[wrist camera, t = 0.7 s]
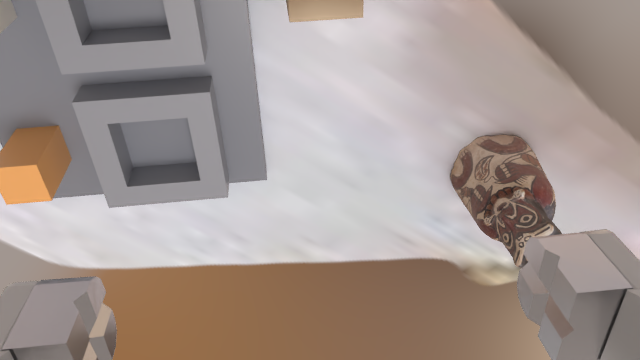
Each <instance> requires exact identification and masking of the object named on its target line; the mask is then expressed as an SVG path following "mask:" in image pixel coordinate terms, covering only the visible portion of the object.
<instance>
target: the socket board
mask: <svg viewBox="0 0 640 360" xmlns="http://www.w3.org/2000/svg"><path fill="white" fill-rule="evenodd" d="M0 142H1V145H2V147H3V149H2V150H1V152H0V192H1V194H2V196H3V198H4V200H5V202H6V204H18V203H30V202H41V201H52V199H53V198H61V197H73V196H85V195H96V194H104V195H105V198H106V201H107V203H108V206H109V208H111V207H123V206H134V205H145V204H157V203H168V202H180V201H191V200H202V199H214V198H225V197H228V189H229V183H236V182H247V181H259V180H267V172H266V164H265V155H264V146H263V137H262V128H261V120H260V111H259V102H258V93H257V84H256V76H255V67H254V58H253V49H252V40H251V31H250V23H249V14H248V5H247V0H0Z"/></svg>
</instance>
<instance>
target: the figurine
mask: <svg viewBox="0 0 640 360" xmlns="http://www.w3.org/2000/svg"><path fill="white" fill-rule="evenodd" d="M450 177H451V181H452V184H453V187H454V189H455V190H456V192H457V194H458V196H459V197H460V199H461V200H462V202H463V204H464V205H465V206H466V208H467V209H468V211H469V212H470V214H471V215H472V217H473V218H474V220H475V221H476V223H477V225H478V226H479V228H480V229H481V230H482V231H483V232H484V233H485V234H486V235H488V236H489V237H490V238H492V239H494V240H497V241H500V242H502V243H503V244H504V245H505V247H506V248H507V250H508V251H509V252H510V254H511V256H512V257H513V260H514V263H515V265H516V266H518V267H520V268H523V267H524V266H525V265H526V264H527V263H528V260H527V258H526V257H525V255H524V254H523V253H524V249H525V245H526V243H527V241H528V240H529V238H530V237H539V236H550V235H560V234H562V233H561V232H560V230H559V229H558V228H557V227H556V226H555V224H554V223H553V222H552V220H553V217H554V214H555V207H556V202H555V194H554V190H553V188H552V186H551V184H550V182H549V181H548V179H547V177H546V174H545V173H544V171H543V169H542V167H541V165H540V163H539V161H538V159H537V157H536V155H535V153H534V152H533V151H532V149H531V148H530V147H529V146H528V144H526V143H525V142H524V140H522V139H521V138H519V137H517V136H509V135H495V136H492V137H491V136H482V137H478V138H477V139H475V140H474V141H473V142H472V143H470V144H469V145H468V146H466V147H464V148H463V149H462V150H461V151H460V152H459V155H458V157H457V159H456V161H455V163H454V167H453V169H452V171H451V176H450Z"/></svg>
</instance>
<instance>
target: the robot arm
mask: <svg viewBox="0 0 640 360" xmlns="http://www.w3.org/2000/svg"><path fill="white" fill-rule="evenodd" d="M523 254H524V255H525V257H526V258H527V260H528V263H527V264H526V265H525V266H524V267H523V268H522V269H521V270H520V271H519V276H518V281H517V289H518V298H519V300H520V303H521V307H522V309H523V311H524V312H525V314H526V316H527V318H528V319H530V320H531V321H533V322H535V323H536V324H538V325H539V326H540V330H539V334H538V337H539V339H540V341H541V342H542V344H543V346H544V347H545V349H546V351H547V352H548V354H549V356H550V357H551V359H552V360H640V261H639V260H638V259H637V257H636V256H635V255H634V254H633V253H632V252H631V251H630V250H629V249H628V248H627V247H626V246H625V245H624V244H623V242H622V241H621V240H620V239H619V238H618V237H617V236H616V235H615V234H614V233H613V232H611V231H609V230H607V229H603V230H594V231H585V232H580V233H570V234H560V235H550V236H539V237H530V238H529V240H528V241H527V243H526V245H525V249H524V253H523ZM105 293H106V291H105V289H104V286H103V284H102V281H101V279H100V278H97V277H81V278H68V279H52V280H41V281H30V282H15V283H12V284H10V285H9V286H7V287H6V288H5V289H4V291H3V292H2V294H1V296H0V360H112V359H113V355H114V350H115V347H116V331H117V330H116V323H115V318H114V315H113V312H112V309H110V308H109V307H108V306H106V305H104V304H103V303H102V302H103V299H104V296H105Z"/></svg>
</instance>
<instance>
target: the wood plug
mask: <svg viewBox="0 0 640 360" xmlns="http://www.w3.org/2000/svg"><path fill="white" fill-rule="evenodd" d="M286 3H287V9H288V15H289V22H301V21H316V20H332V19H347V18H362V17H363V0H286Z"/></svg>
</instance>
